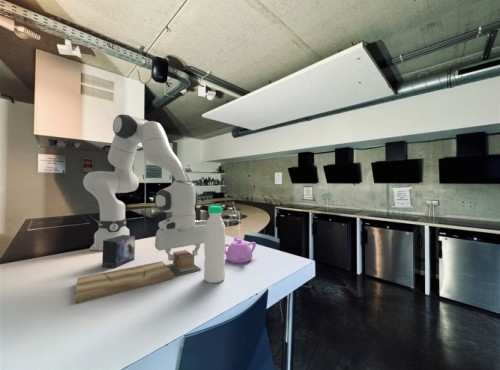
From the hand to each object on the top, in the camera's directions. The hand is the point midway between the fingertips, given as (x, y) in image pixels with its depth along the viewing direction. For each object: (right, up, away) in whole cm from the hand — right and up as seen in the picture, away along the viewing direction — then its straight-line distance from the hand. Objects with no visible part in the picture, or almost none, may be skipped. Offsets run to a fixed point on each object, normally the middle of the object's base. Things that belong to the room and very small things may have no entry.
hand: (183, 257), depth 82 cm
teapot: (+21, -5, +10) cm, 24 cm away
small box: (-28, -4, +5) cm, 29 cm away
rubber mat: (0, -4, 0) cm, 4 cm away
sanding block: (0, -4, 0) cm, 4 cm away
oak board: (-15, -4, -12) cm, 19 cm away
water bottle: (+14, -4, -10) cm, 17 cm away
